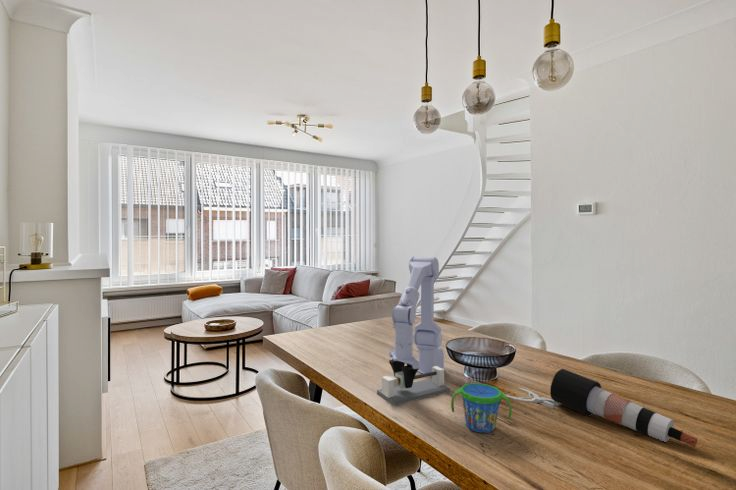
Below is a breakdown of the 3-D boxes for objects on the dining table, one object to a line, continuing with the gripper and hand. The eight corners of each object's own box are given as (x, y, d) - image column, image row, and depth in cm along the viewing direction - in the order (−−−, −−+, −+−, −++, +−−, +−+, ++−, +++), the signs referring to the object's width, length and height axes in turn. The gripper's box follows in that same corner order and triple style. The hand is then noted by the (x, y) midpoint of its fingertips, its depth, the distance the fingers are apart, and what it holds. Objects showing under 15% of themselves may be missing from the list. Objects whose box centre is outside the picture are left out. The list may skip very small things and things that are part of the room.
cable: (688, 472, 94) (687, 442, 90) (553, 407, 121) (548, 382, 118) (703, 442, 99) (703, 413, 95) (569, 386, 126) (565, 362, 122)
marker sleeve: (405, 382, 131) (405, 370, 131) (412, 386, 128) (412, 374, 127) (395, 384, 129) (395, 372, 129) (402, 389, 126) (402, 376, 125)
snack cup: (512, 423, 109) (512, 387, 109) (510, 442, 99) (511, 402, 99) (454, 414, 114) (454, 379, 114) (447, 431, 105) (448, 392, 104)
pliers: (519, 384, 134) (564, 398, 122) (519, 389, 134) (564, 404, 122) (502, 391, 128) (548, 407, 116) (502, 396, 128) (548, 412, 116)
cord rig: (431, 381, 140) (431, 363, 140) (449, 391, 131) (450, 372, 131) (377, 393, 129) (377, 373, 129) (393, 405, 121) (393, 384, 120)
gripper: (381, 339, 132) (381, 379, 133) (406, 350, 120) (406, 394, 120) (399, 336, 136) (399, 375, 136) (425, 346, 123) (424, 390, 123)
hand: (403, 384), depth 128 cm, fingers open, 5 cm apart
